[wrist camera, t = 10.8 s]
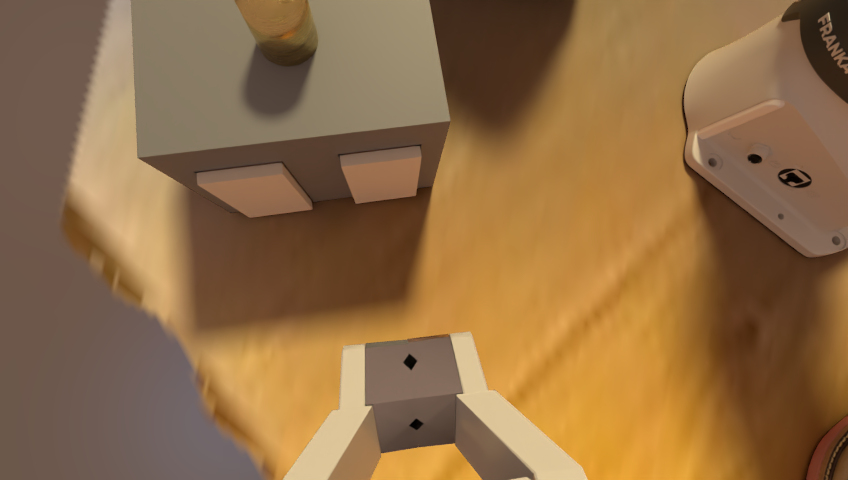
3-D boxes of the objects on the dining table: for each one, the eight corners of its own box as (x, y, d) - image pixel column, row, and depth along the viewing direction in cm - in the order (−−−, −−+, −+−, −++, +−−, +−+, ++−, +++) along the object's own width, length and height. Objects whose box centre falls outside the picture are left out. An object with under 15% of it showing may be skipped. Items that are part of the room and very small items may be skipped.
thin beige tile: (312, 209, 36) (282, 174, 27) (249, 217, 35) (197, 184, 26) (297, 80, 38) (265, 5, 29) (238, 86, 37) (185, 12, 28)
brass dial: (330, 45, 25) (317, -5, 21) (281, 77, 24) (258, 32, 20) (295, 2, 25) (276, -55, 21) (246, 33, 25) (217, -20, 21)
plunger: (415, 195, 37) (421, 156, 27) (355, 203, 36) (341, 166, 27) (395, 69, 39) (395, -7, 29) (338, 75, 38) (319, 0, 29)
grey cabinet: (432, 186, 37) (450, 120, 24) (230, 212, 36) (137, 157, 23) (411, 58, 39) (417, -64, 27) (220, 77, 38) (129, -42, 25)
